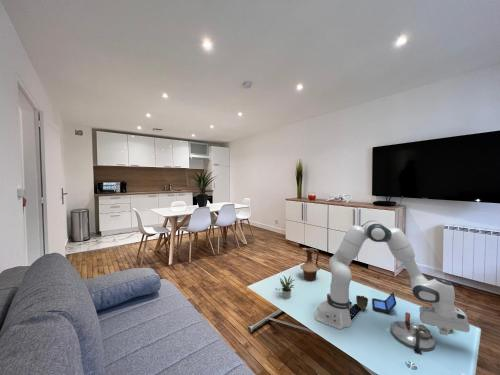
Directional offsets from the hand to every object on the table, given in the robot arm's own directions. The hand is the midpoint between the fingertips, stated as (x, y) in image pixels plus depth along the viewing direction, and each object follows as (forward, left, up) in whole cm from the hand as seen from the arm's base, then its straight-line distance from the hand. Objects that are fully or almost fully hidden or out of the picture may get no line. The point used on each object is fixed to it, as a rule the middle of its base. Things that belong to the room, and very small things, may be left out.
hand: (443, 334), depth 114 cm
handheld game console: (-24, +26, -6) cm, 36 cm away
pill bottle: (+6, +15, -6) cm, 17 cm away
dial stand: (-14, -9, -6) cm, 18 cm away
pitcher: (-78, +50, -6) cm, 93 cm away
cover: (-9, 0, -3) cm, 10 cm away
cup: (-38, +18, -6) cm, 42 cm away
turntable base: (-14, 0, -6) cm, 15 cm away
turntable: (-14, 0, -5) cm, 15 cm away
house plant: (-89, +13, -6) cm, 90 cm away
